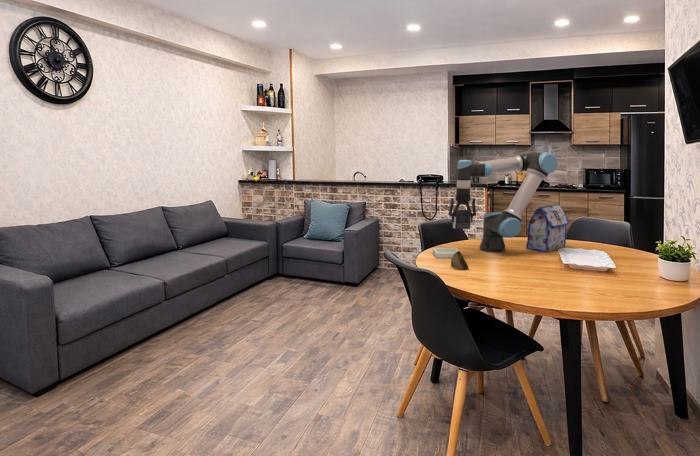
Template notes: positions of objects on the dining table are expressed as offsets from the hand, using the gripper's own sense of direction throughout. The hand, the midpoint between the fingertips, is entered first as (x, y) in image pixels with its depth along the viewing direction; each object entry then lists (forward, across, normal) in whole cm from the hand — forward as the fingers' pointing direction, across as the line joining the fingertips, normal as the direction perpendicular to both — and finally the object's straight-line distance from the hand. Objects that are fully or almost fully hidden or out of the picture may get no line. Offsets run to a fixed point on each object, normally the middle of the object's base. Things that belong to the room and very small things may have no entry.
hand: (461, 228), depth 257 cm
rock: (+18, +6, +23) cm, 29 cm away
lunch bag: (+16, -58, -18) cm, 62 cm away
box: (+1, 0, 0) cm, 1 cm away
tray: (+17, +7, -5) cm, 19 cm away
